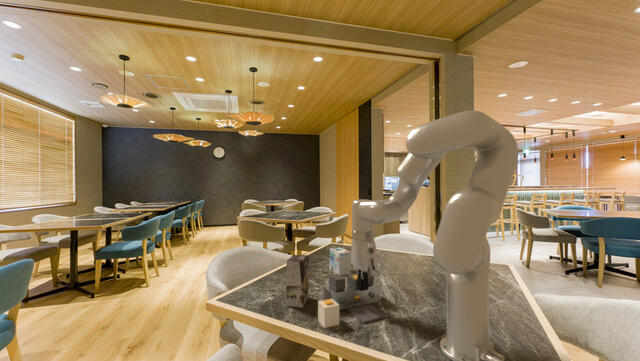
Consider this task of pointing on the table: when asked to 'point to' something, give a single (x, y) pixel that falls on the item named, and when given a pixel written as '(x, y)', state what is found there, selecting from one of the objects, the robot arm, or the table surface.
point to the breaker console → (351, 295)
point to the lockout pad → (367, 313)
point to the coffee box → (297, 280)
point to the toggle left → (337, 282)
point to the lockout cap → (328, 313)
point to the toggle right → (370, 280)
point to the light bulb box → (340, 261)
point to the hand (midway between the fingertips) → (363, 289)
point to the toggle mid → (353, 281)
